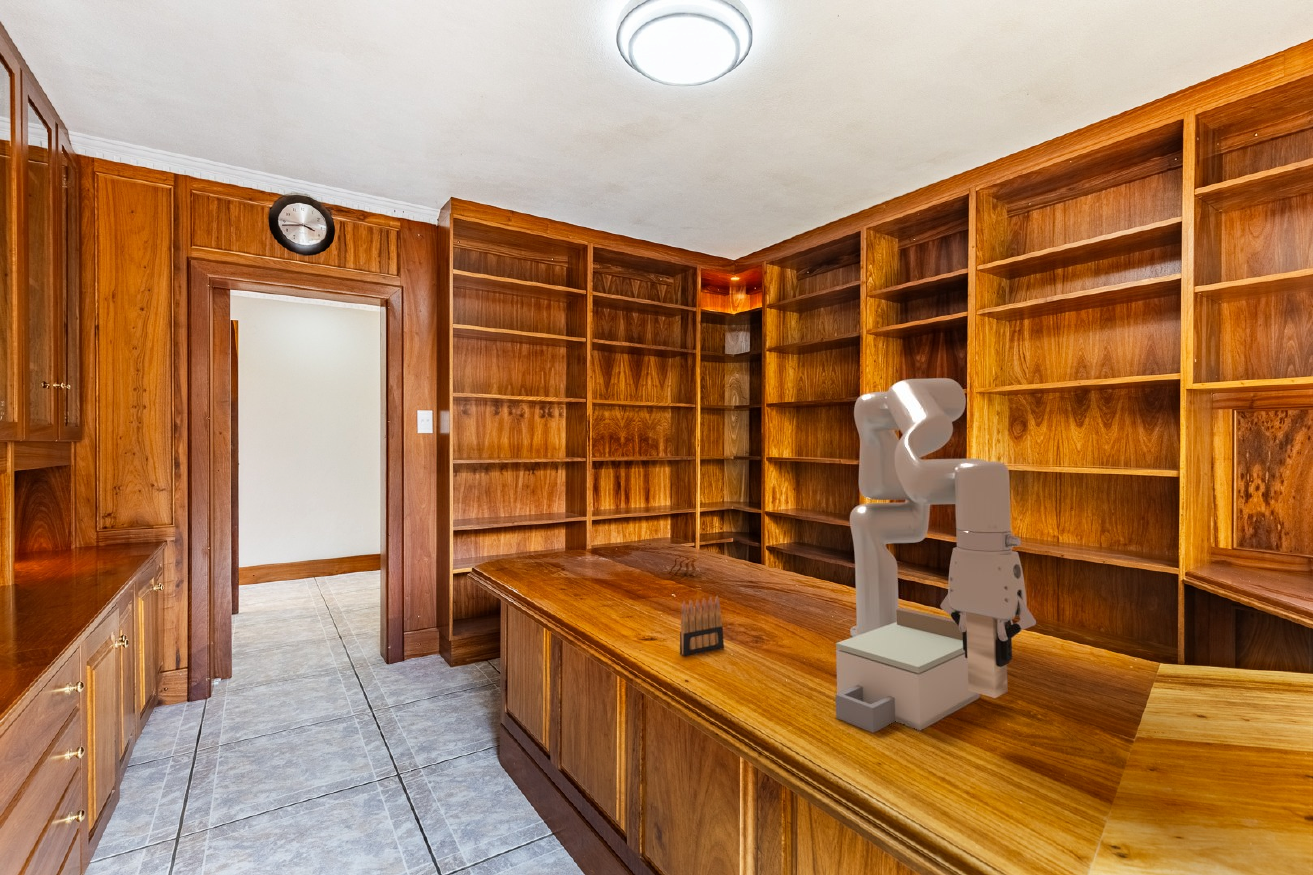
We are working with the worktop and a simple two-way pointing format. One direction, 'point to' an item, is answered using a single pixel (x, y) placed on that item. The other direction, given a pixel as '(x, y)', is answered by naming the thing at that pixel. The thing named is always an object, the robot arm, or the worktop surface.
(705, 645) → the ammunition clip
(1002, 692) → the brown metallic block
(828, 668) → the worktop surface
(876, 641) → the toolbox lid
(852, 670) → the toolbox
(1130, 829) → the worktop surface
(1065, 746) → the worktop surface
